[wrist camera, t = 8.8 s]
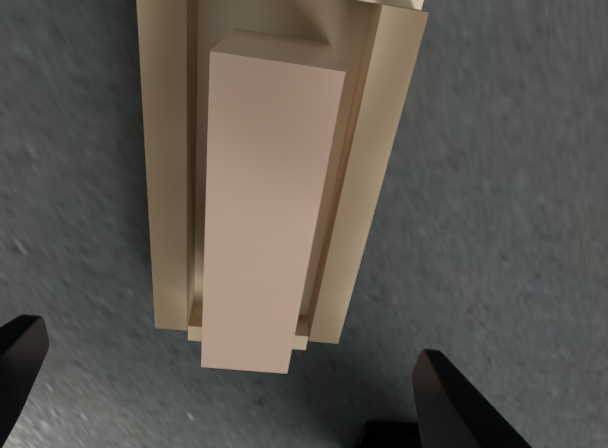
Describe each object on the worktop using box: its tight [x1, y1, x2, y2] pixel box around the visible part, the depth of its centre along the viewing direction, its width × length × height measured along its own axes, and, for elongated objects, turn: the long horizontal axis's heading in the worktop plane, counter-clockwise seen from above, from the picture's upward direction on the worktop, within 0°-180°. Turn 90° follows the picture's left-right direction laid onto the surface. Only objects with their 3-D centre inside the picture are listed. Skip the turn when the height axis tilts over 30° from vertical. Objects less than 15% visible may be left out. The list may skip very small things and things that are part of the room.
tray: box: [136, 0, 429, 350], centre depth 17 cm, size 10×17×3 cm, turn 171°
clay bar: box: [201, 28, 346, 374], centre depth 16 cm, size 4×12×5 cm, turn 171°
